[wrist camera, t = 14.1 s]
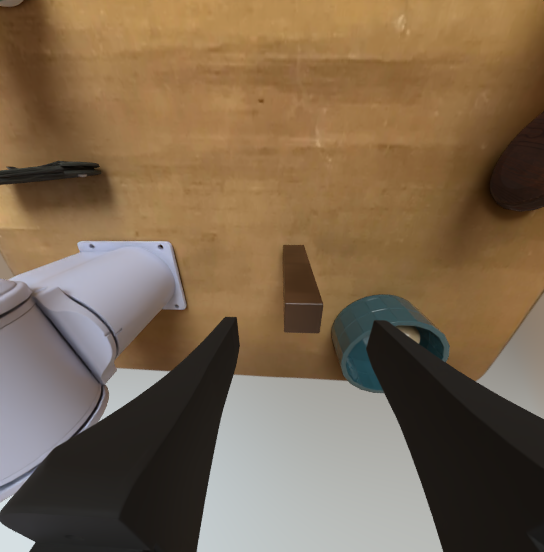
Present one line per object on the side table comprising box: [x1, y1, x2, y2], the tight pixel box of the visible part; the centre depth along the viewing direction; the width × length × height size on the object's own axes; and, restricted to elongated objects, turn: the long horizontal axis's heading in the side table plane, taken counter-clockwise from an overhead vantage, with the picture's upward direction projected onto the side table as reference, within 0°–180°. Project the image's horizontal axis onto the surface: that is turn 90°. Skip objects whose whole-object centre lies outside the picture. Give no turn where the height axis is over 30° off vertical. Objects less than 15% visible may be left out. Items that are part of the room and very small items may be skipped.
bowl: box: [331, 295, 450, 393], centre depth 21 cm, size 10×10×4 cm
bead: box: [395, 326, 420, 344], centre depth 21 cm, size 3×3×3 cm
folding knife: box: [0, 161, 102, 185], centre depth 16 cm, size 10×1×3 cm, turn 95°
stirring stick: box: [283, 245, 323, 333], centre depth 15 cm, size 2×2×10 cm
